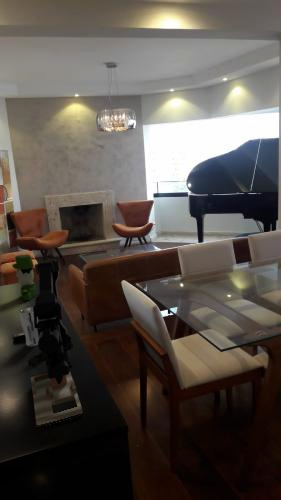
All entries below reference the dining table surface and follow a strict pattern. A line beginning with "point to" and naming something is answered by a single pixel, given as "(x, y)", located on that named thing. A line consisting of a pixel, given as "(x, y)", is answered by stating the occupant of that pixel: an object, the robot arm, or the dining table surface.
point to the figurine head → (25, 276)
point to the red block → (54, 382)
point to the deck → (53, 398)
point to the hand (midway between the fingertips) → (59, 383)
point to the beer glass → (29, 326)
